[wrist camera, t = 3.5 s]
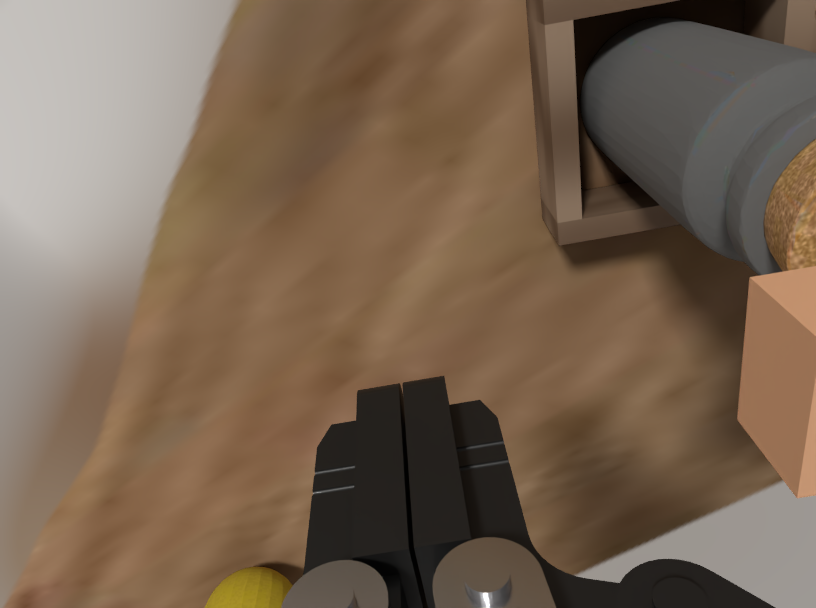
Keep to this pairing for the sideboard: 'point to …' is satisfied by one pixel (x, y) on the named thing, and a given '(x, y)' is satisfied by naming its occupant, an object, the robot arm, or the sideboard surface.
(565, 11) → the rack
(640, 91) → the bottle
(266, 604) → the lemon
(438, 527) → the robot arm
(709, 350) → the sideboard surface
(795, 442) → the bar
